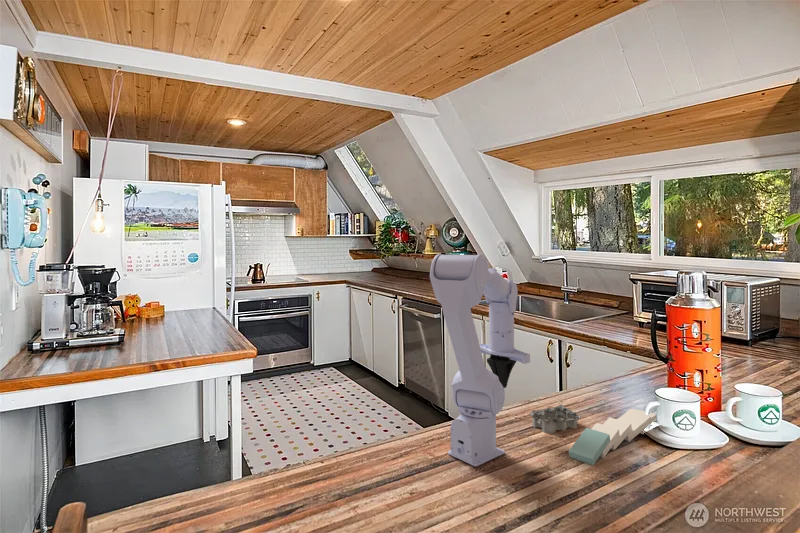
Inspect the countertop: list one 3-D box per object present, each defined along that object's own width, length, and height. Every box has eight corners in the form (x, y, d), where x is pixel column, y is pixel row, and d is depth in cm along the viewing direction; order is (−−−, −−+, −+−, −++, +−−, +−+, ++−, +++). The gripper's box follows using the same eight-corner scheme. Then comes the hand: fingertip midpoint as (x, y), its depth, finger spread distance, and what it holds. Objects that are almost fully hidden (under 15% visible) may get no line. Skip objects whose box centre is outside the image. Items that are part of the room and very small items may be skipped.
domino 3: (613, 443, 103) (631, 423, 108) (591, 436, 107) (609, 417, 111) (614, 450, 103) (632, 429, 108) (592, 442, 107) (610, 423, 112)
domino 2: (602, 451, 99) (618, 429, 104) (579, 443, 103) (596, 422, 108) (603, 457, 100) (619, 435, 105) (580, 450, 103) (597, 428, 108)
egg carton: (546, 436, 112) (546, 418, 111) (526, 424, 119) (526, 407, 118) (583, 428, 115) (583, 411, 115) (562, 417, 122) (562, 401, 122)
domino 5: (643, 423, 111) (656, 414, 116) (621, 417, 114) (635, 409, 120) (643, 430, 111) (656, 420, 116) (621, 424, 115) (635, 415, 120)
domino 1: (592, 458, 96) (609, 434, 101) (568, 450, 100) (586, 427, 105) (593, 465, 97) (610, 440, 102) (569, 457, 100) (587, 433, 105)
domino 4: (627, 435, 107) (650, 416, 110) (608, 426, 111) (631, 408, 114) (629, 441, 107) (651, 422, 110) (609, 432, 111) (632, 413, 115)
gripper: (538, 332, 111) (537, 391, 112) (488, 324, 122) (488, 377, 123) (519, 337, 107) (519, 398, 107) (469, 328, 118) (470, 383, 119)
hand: (501, 387), depth 115 cm, fingers closed
